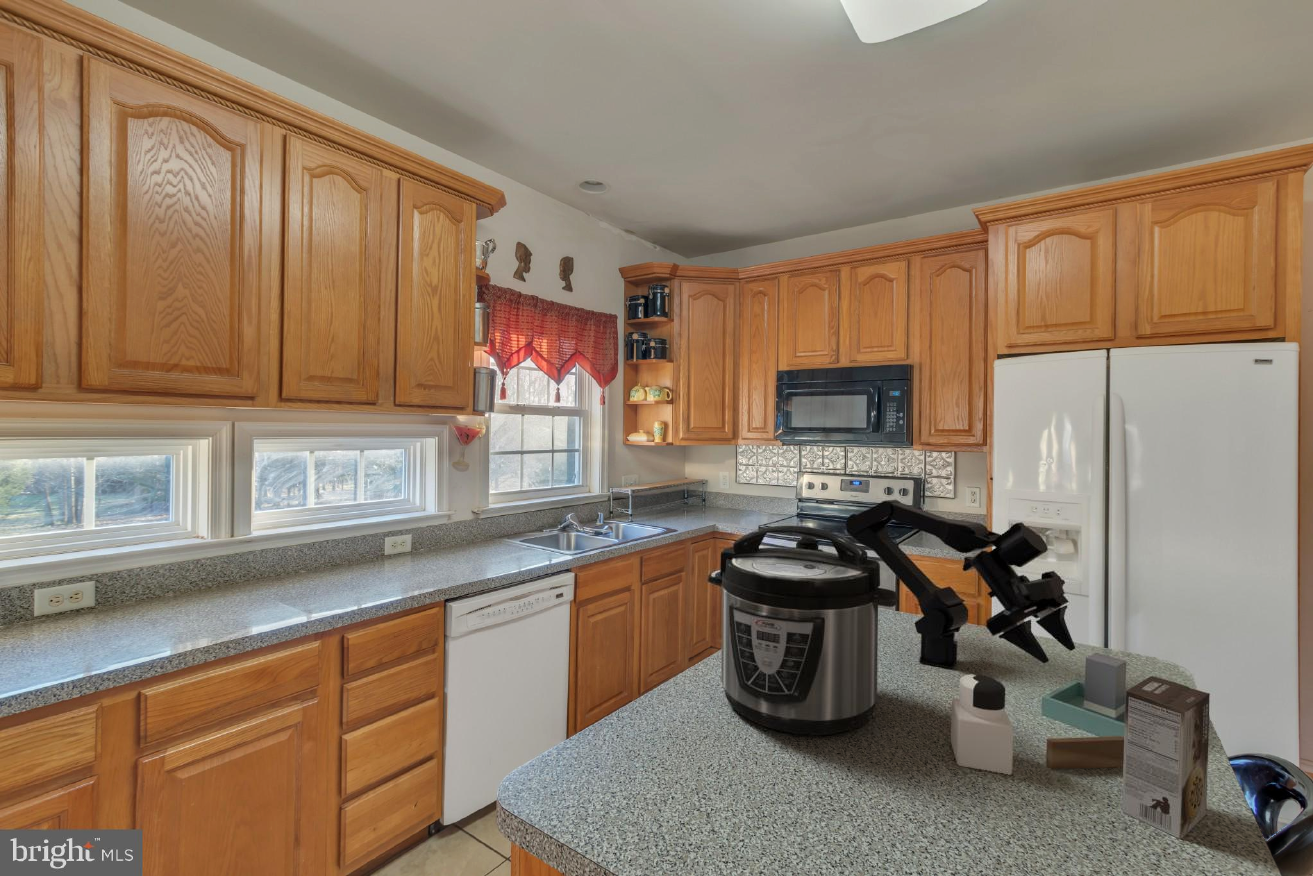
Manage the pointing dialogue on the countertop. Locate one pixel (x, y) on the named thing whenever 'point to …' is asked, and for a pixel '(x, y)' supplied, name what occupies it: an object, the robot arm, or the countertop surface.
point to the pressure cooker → (800, 631)
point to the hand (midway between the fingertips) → (1060, 655)
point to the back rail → (1085, 752)
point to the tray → (1079, 711)
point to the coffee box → (1166, 755)
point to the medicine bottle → (981, 725)
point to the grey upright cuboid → (1105, 686)
